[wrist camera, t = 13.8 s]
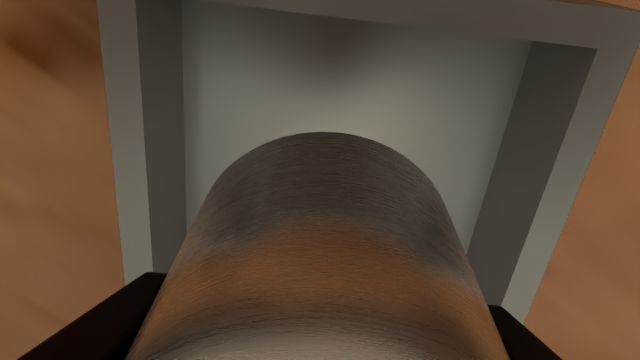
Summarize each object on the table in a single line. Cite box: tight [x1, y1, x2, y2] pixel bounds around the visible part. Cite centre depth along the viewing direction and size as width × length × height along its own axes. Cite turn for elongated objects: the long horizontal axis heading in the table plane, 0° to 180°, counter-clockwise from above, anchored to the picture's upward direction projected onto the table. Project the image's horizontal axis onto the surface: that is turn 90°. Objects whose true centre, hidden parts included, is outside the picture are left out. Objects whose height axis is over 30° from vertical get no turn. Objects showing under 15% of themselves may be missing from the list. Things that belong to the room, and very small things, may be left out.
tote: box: [96, 0, 640, 324], centre depth 18 cm, size 18×14×5 cm
